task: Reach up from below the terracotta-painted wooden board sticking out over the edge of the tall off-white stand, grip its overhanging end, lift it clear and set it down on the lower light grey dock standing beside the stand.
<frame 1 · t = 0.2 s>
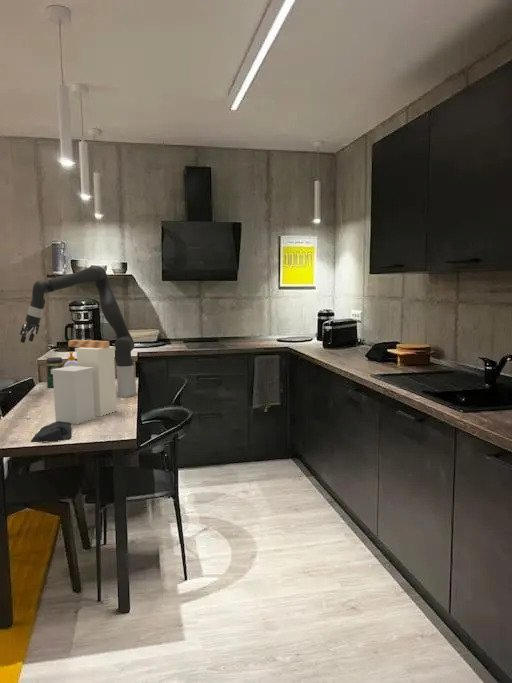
hand: (26, 341, 286), 31 cm above the table, tool tilted 20°, fingers open, 8 cm apart
fruit juice: (91, 384, 321), on the table
board: (88, 347, 244), point 32 cm above the table, touching stand
dark slate chunk: (54, 435, 210), on the table
dock: (75, 420, 232), on the table
stand: (98, 412, 246), on the table
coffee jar: (55, 387, 316), on the table
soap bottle: (73, 390, 305), on the table
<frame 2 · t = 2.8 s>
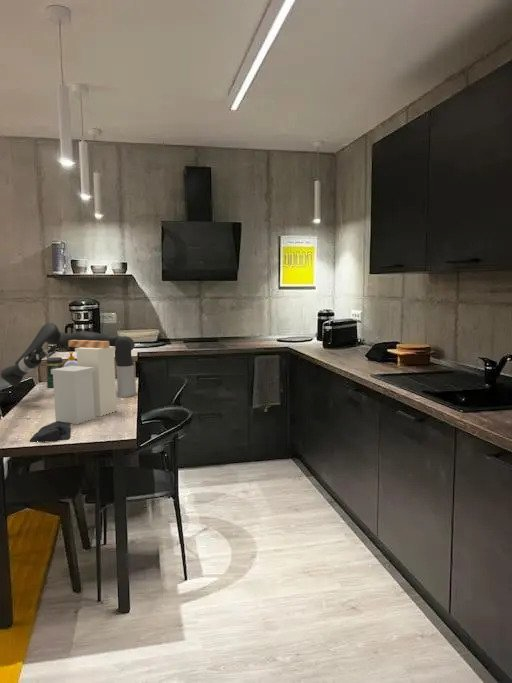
hand: (49, 347, 254), 31 cm above the table, tool pointing upward, fingers open, 8 cm apart
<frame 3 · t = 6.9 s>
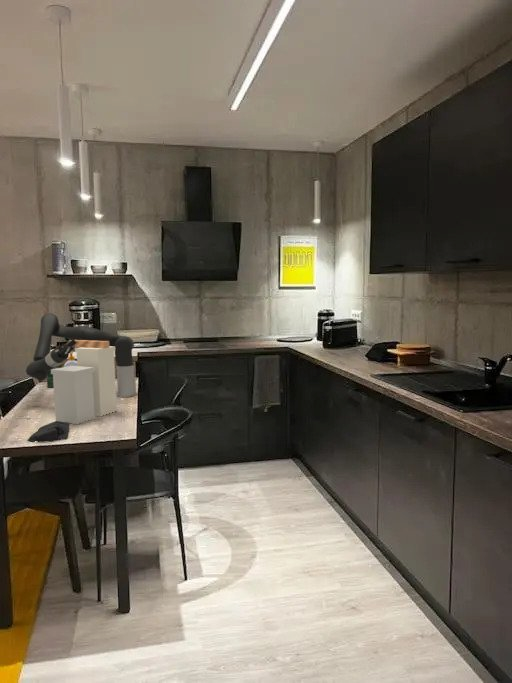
hand: (78, 340, 247), 35 cm above the table, tool pointing upward, fingers closed on board, 4 cm apart
board: (88, 347, 244), point 32 cm above the table, touching gripper, stand
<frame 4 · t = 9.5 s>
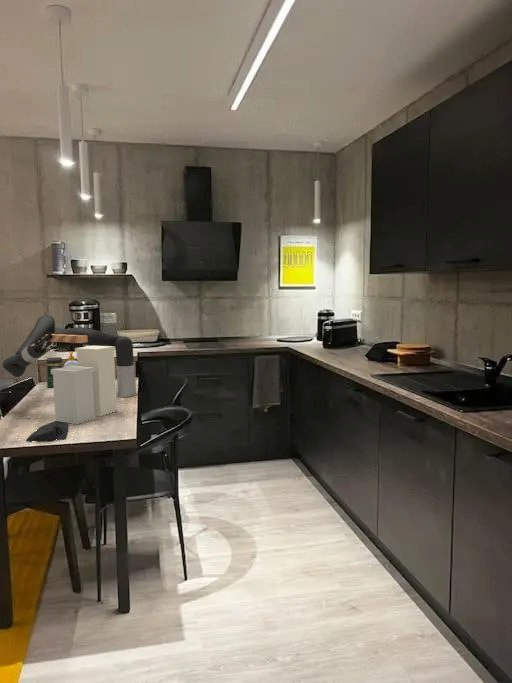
hand: (55, 334, 234), 39 cm above the table, tool pointing upward, fingers closed on board, 4 cm apart
board: (66, 341, 232), point 36 cm above the table, touching gripper
when the fingers open (28 cm above the table, at t = 12.2 s): board drops 1 cm, resting on dock.
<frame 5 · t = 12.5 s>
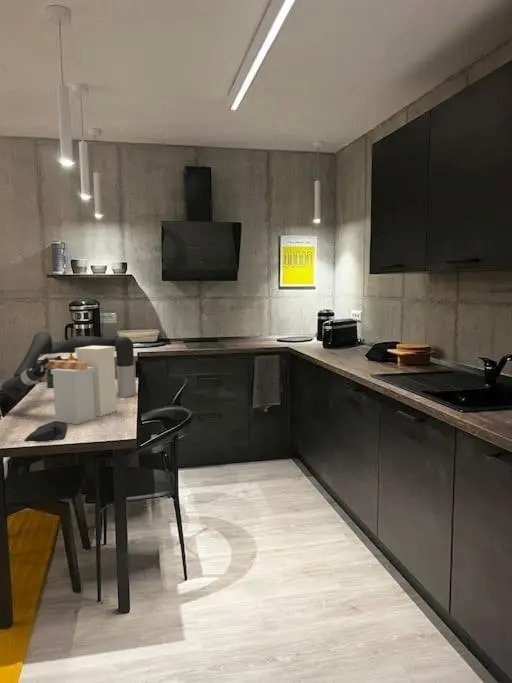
hand: (54, 358, 234), 28 cm above the table, tool pointing upward, fingers open, 7 cm apart
board: (65, 368, 231), point 24 cm above the table, touching dock
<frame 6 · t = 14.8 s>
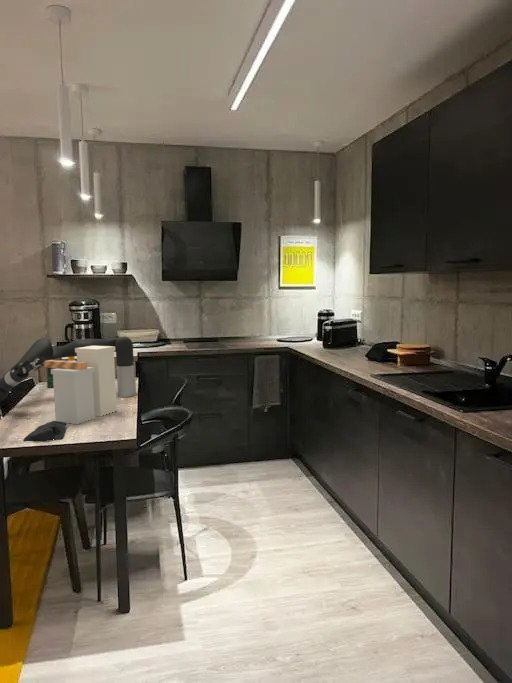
hand: (36, 360, 239), 27 cm above the table, tool pointing upward, fingers open, 8 cm apart
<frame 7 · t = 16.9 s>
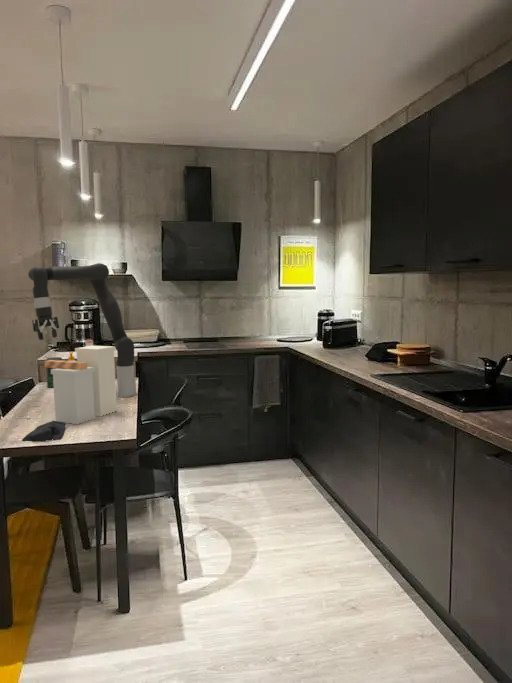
hand: (48, 338, 256), 35 cm above the table, tool pointing down, fingers open, 8 cm apart
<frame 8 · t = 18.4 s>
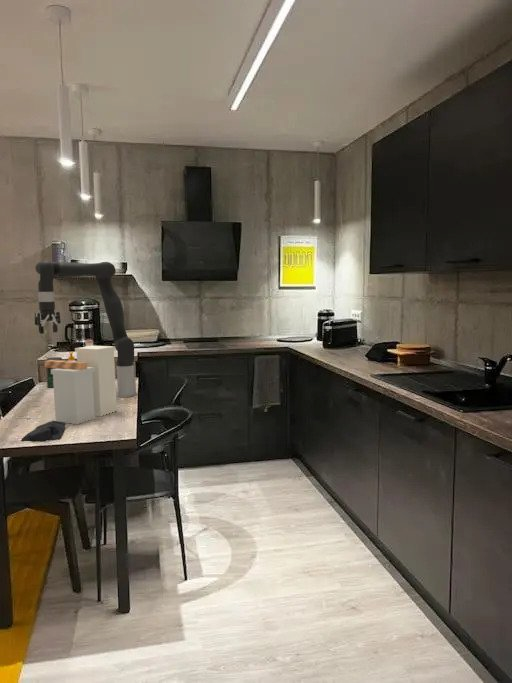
hand: (48, 333, 257), 38 cm above the table, tool pointing down, fingers open, 8 cm apart
at the end: board inside the target area on the dock (0.1 cm from its centre), point 24.0 cm above the dock's base; board tilted 0°; the gripper is holding nothing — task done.
